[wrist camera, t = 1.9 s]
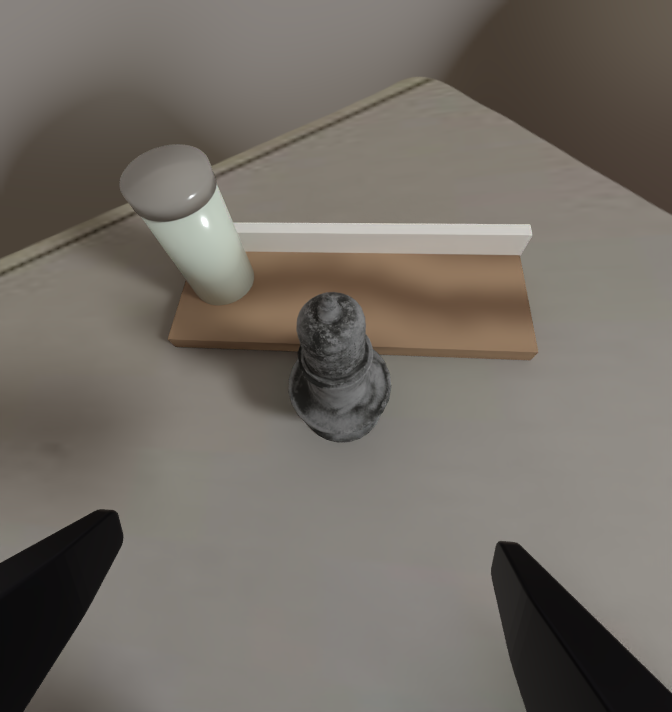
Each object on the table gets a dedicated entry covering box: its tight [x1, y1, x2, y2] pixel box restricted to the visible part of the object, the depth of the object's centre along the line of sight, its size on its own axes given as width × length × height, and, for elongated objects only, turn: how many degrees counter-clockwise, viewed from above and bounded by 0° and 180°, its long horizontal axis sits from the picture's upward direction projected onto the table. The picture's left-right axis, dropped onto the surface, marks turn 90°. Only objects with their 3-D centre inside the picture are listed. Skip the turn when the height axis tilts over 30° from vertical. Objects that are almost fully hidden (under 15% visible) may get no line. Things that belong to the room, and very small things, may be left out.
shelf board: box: [168, 251, 538, 360], centre depth 26 cm, size 9×25×1 cm, turn 86°
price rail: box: [233, 223, 532, 255], centre depth 27 cm, size 1×25×3 cm, turn 86°
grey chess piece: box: [289, 292, 391, 442], centre depth 18 cm, size 6×6×12 cm
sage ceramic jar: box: [120, 144, 254, 305], centre depth 23 cm, size 5×5×9 cm
